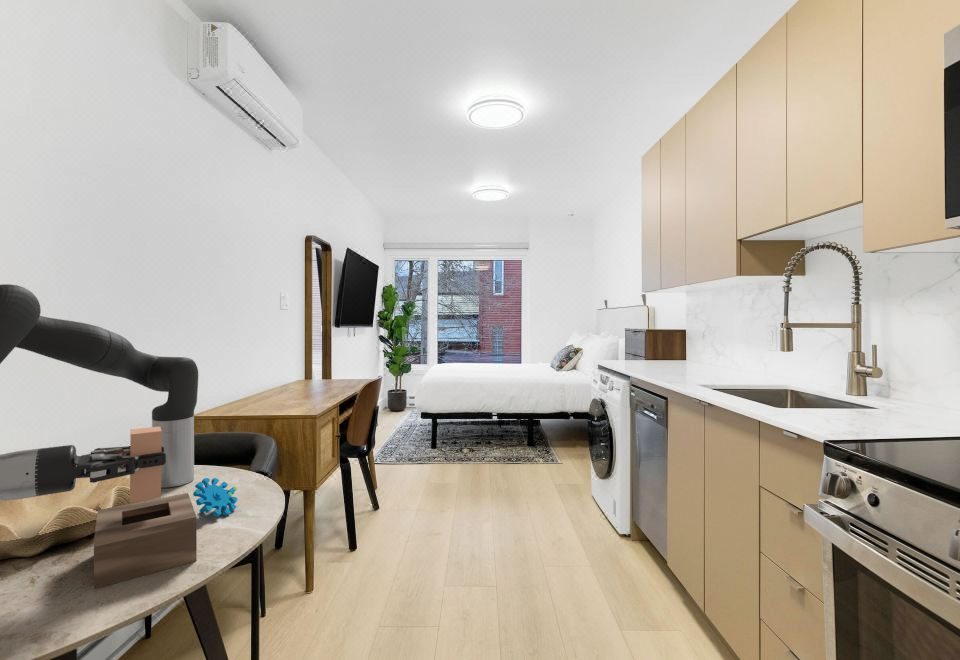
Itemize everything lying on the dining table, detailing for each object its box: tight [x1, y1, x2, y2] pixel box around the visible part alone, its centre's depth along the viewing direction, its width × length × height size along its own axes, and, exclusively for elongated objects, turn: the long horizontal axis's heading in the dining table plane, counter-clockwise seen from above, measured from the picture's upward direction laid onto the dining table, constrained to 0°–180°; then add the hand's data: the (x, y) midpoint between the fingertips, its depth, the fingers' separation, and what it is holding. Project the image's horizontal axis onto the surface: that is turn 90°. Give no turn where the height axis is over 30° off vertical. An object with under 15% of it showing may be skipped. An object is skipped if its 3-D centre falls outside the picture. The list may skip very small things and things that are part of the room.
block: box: [129, 426, 162, 504], centre depth 81 cm, size 4×4×12 cm
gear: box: [192, 477, 239, 518], centre depth 101 cm, size 11×6×10 cm
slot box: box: [93, 492, 198, 590], centre depth 82 cm, size 14×14×8 cm
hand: (164, 454), depth 83 cm, fingers closed on block, 4 cm apart
